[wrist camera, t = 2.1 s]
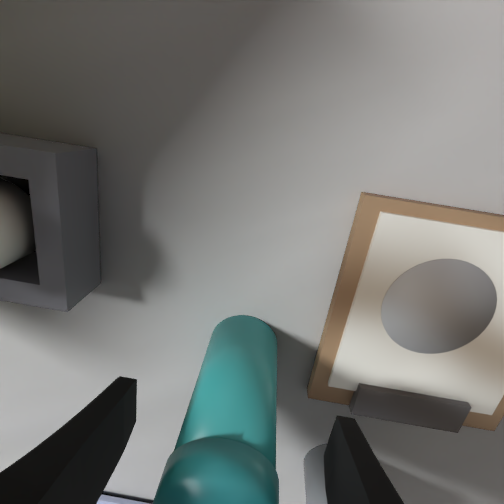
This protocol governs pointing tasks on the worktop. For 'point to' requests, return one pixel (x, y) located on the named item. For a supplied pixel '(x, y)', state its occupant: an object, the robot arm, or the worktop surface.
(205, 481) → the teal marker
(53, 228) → the button housing
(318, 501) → the cylinder
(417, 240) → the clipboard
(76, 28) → the worktop surface
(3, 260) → the button
